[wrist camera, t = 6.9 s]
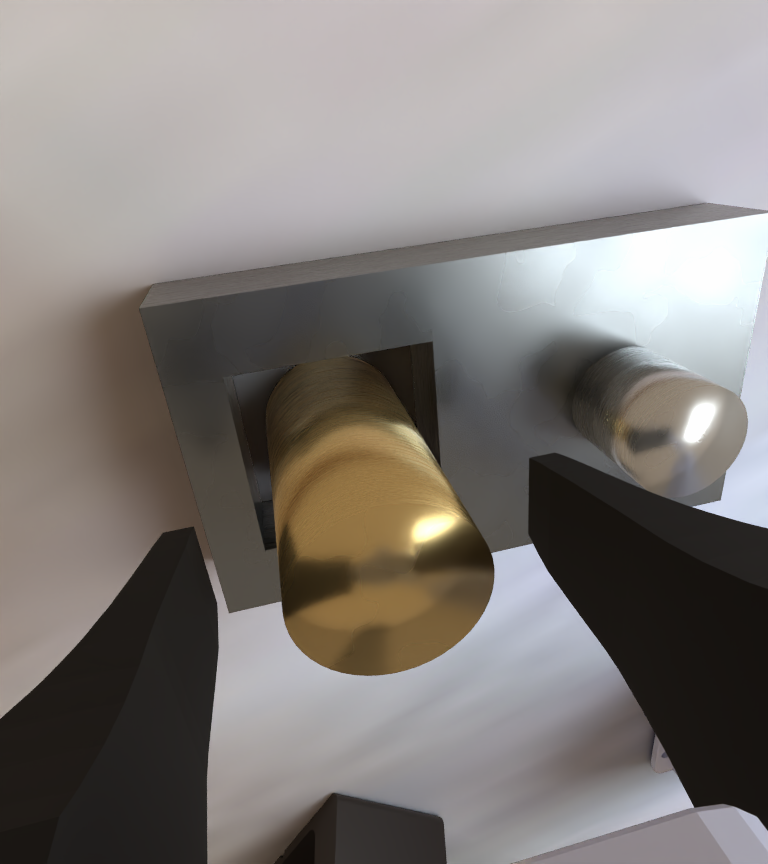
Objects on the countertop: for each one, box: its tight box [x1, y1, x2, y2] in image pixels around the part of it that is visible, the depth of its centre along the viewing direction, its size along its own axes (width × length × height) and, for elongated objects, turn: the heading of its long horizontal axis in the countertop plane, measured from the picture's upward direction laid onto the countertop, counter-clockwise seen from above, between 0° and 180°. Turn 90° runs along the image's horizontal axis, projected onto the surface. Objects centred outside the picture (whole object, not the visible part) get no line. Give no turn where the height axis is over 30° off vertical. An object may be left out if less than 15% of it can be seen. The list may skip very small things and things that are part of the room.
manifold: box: [139, 203, 768, 613], centre depth 16 cm, size 9×16×6 cm, turn 96°
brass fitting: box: [266, 356, 494, 676], centre depth 14 cm, size 4×4×8 cm
